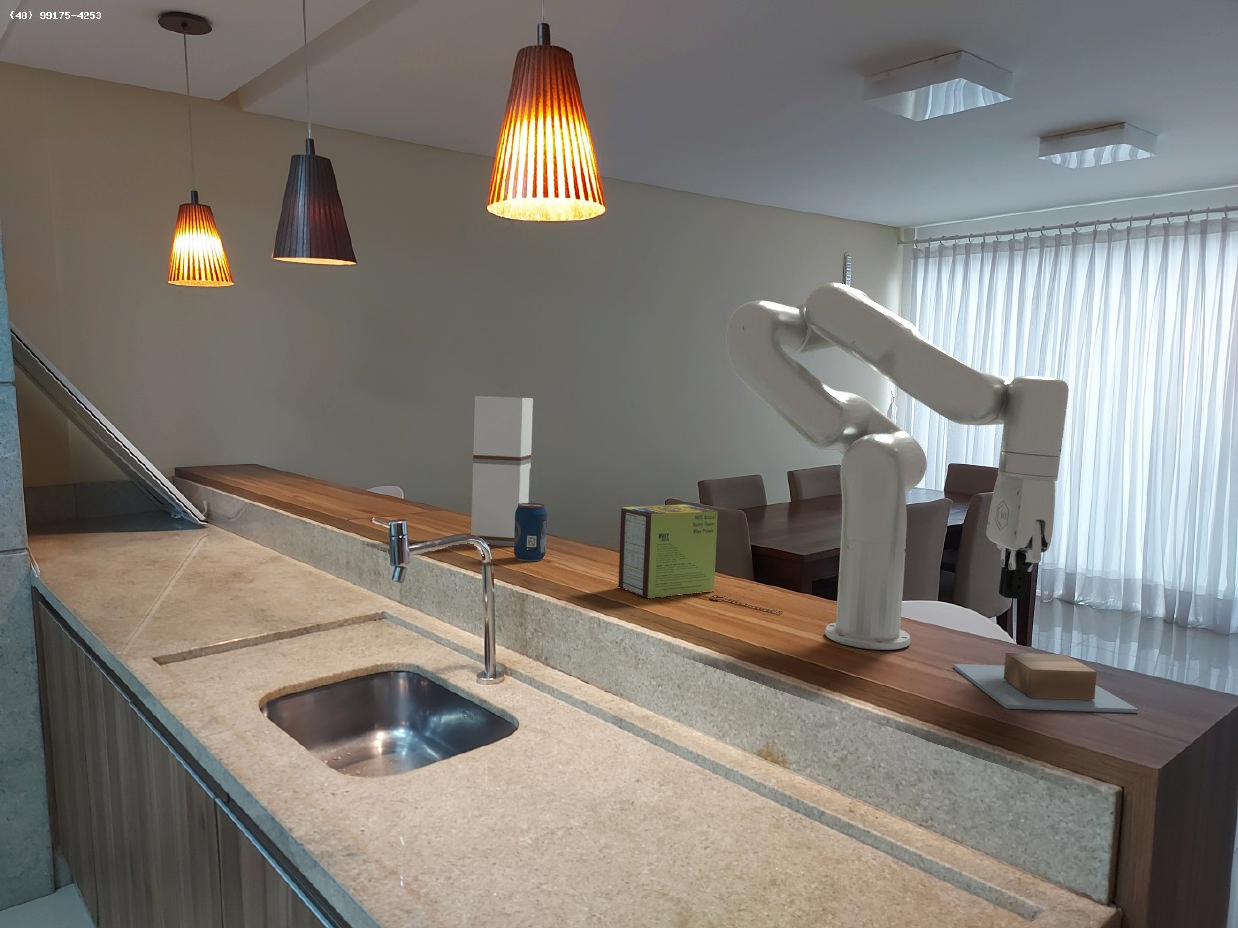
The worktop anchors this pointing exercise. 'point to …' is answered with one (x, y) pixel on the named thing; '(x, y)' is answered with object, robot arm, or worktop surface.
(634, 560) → the protein box
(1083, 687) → the wooden block
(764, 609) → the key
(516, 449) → the banded white tower
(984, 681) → the rubber mat
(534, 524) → the soda can
